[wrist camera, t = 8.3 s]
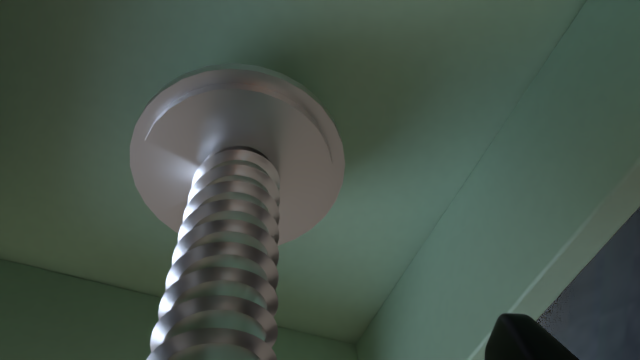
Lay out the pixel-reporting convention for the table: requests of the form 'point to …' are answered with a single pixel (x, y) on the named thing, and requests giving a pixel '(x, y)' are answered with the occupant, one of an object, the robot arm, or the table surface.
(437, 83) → the open square box
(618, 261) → the table surface
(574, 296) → the table surface
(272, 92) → the screw
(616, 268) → the table surface
